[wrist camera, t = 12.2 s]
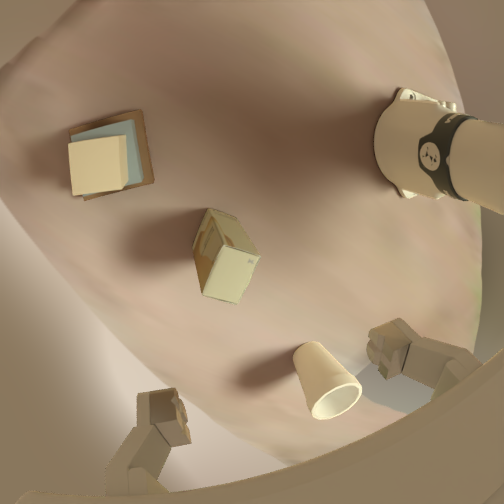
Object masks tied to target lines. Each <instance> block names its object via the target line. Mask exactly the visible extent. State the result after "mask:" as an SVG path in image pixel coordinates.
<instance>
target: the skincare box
mask: <svg viewBox="0 0 504 504" xmlns="http://www.w3.org/2000/svg"><path fill="white" fill-rule="evenodd" d="M192 250H193V255H194V259H195V264H196V269H197V274H198V279H199V283H200V288H201V293H202V296H205V297H209V298H212V299H216V300H219V301H223V302H226V303H230V304H234V305H237V304H238V303H239V302H240V300H241V298H242V296H243V294H244V291H245V289H246V288H247V286H248V284H249V282H250V279H251V277H252V275H253V273H254V271H255V269H256V267H257V265H258V263H259V260H260V259H261V256H260V254H259V253H258V251H257V250H256V248H255V246H254V245H253V243H252V242H251V240H250V239H249V237H248V236H247V234H246V232H245V231H244V229H243V228H242V226H241V225H240V223H239V222H238V220H237V218H235V217H233V216H230V215H228V214H225V213H223V212H220V211H217V210H214V209H210V208H208V209H207V211H206V213H205V216H204V218H203V220H202V222H201V225H200V227H199V229H198V232H197V235H196V238H195V240H194V243H193V246H192Z"/></svg>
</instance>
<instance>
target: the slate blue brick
mask: <svg viewBox="0 0 504 504" xmlns="http://www.w3.org/2000/svg"><path fill="white" fill-rule="evenodd" d="M117 135H126V145H127V164H128V179H129V180H128V182H127V183H126V184H125V186H127V185H131V184H135V183H140V182H142V180H143V178H144V175H143V170H142V165H141V159H140V153H139V147H138V141H137V135H136V129H135V122H134V120H131V119H130V120H126V121H122V122H118V123H114V124H110V125H107V126H103V127H99V128H96V129H92V130H89V131H85V132H82V133H79V134H76V135H72V136H71V141H72V143H73V142H78V141H82V140H89V139H95V138H102V137H110V136H117ZM97 193H99V192H97ZM91 194H95V193H89V194H83V197H84V196H88V195H91Z"/></svg>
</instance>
